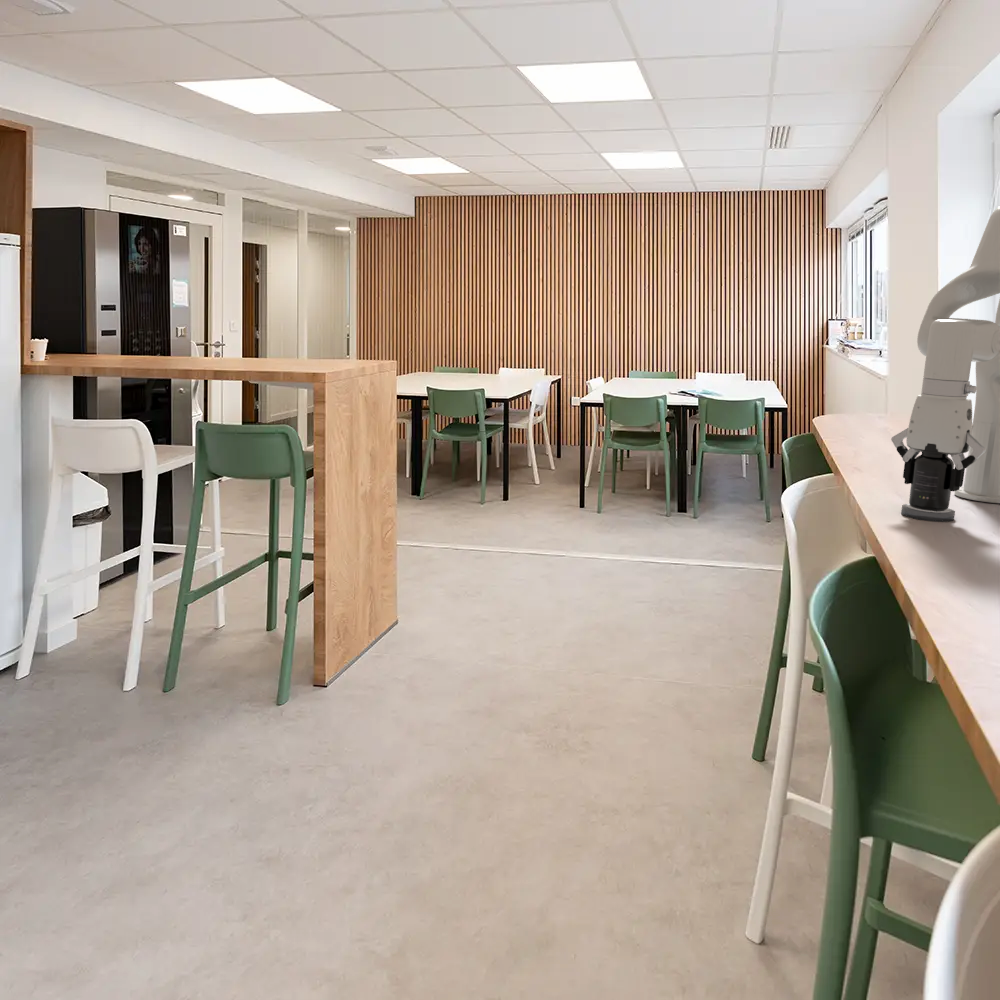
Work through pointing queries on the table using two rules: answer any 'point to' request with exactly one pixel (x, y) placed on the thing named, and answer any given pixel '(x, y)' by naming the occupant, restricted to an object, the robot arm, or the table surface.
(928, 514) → the plate
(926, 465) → the supplement bottle
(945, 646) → the table surface
